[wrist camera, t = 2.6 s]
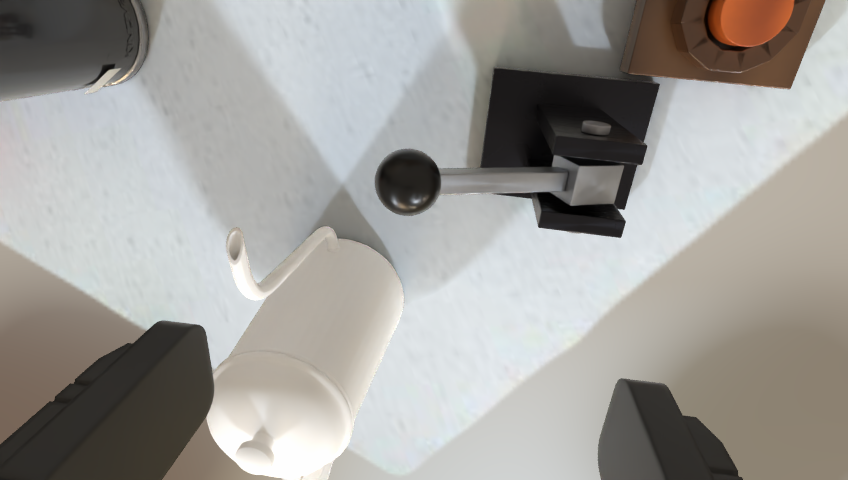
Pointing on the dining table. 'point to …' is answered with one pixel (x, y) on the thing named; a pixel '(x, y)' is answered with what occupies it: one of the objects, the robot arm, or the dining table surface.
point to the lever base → (568, 136)
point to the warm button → (748, 20)
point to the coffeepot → (304, 355)
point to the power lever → (491, 181)
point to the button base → (713, 45)
